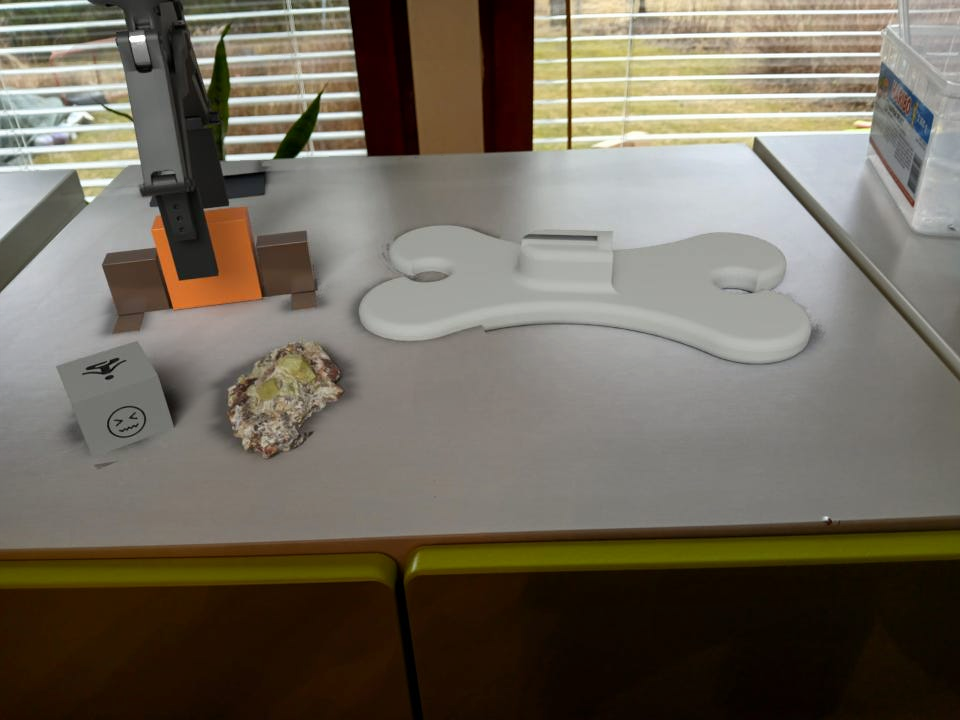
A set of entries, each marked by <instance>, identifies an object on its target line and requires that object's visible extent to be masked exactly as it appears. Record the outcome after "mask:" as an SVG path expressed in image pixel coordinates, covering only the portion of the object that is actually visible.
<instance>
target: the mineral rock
mask: <svg viewBox="0 0 960 720" xmlns="http://www.w3.org/2000/svg"><path fill="white" fill-rule="evenodd" d="M340 378H341V372H340V369H339V368H338V366H337V365H336V363H335V361H334V359H331V358H330V356H329V355H328V354H327V353H326V352H325V350H323V348H322V347H321V346H320V345H319V343H317V341H314V340H304V339H301V340H300V341H299V342H296V341H289V342H287V344H286V345H284V346H279V347H276V348H271V350H270V353H268V354H266V355H264V356H263V357H260V358H259V359H258V360H257V361H256V362H255V363H254V364H253V369H252V371H251V373H250V374H248V375H247V374H246V375H245V374H241V375H240V376H239V377H237V379H236V383H235V384H234V385H230V386H229V387H228V388H226V390H227V391H228V394H227V400H228V401H227V407H229V409H228V411H227V413H226V414H227V418H228V419H229V420H230V422H231V426H230V427H231V428H232V431H234V432H233V433H232V435H233V437H237V438H241V440H242V442H241V444H242V447H244V451H245V452H249V453H250V454H251V453H255V452H259V453H260V454H261V457H262V458H263V459H264V460H268V459H270V458H272V457H273V456H274V455H275V454H277V453H278V452H289V451H292V450H293V449H295V448H296V447H299V446H301V445H302V444H304V443H303V442H304V441H305V439H307V438H309V437H311V435H312V434H314V430H312V431H306V432H299V431H300V428H301V426H303V423H304V422H305V420H307V419H308V418H309V417H312V415H313V413H317V412H321V411H322V410H323V409H325V407H326V406H327V403H331V402H338V401H340V400H341V399H342V394H343V393H344V390H343V388H341V387H339V386H338V385H337V384H336V382H337V381H338V380H340Z"/></svg>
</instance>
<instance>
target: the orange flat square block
mask: <svg viewBox="0 0 960 720" xmlns="http://www.w3.org/2000/svg"><path fill="white" fill-rule="evenodd" d="M204 213H205V217H206V221H207V225H208V229H209V233H210V237H211V241H212V246H213V250H214V254H215V258H216V262H217V266H218V270H219V274H218V276H213V277H205V278H197V279H189V280H181V281H179V279H178V275H177V272H176V268H175V265H174V261H173V257H172V254H171V250H170V247H169V243H168V240H167V236H166V232H165V229H164V225H163V222H162V218H161V215H156V216H155V217H154V221H153V223H152V227H151V230H150V232H151V235H152V238H153V242H154V245H155V248H156V249H157V253H158V256H159V260H160V263H161V267H162V270H163V274H164V277H165V281H166V284H167V288H168V292H169V295H170V299H171V302H172V306H173V309H172V310H174V311H177V310H185V309H193V308H200V307H209V306H217V305H224V304H233V303H240V302H248V301H257V300H262V299H263V298H262V295H263V286H264V283H263V278H262V273H261V268H260V264H259V259H258V254H257V249H256V241H255V238H254V234H253V227H252V223H251V219H250V214H249V209H248V206H247V205H244V206H236V207H225V208H216V209H207V210H204Z"/></svg>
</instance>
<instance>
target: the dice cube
mask: <svg viewBox="0 0 960 720" xmlns="http://www.w3.org/2000/svg"><path fill="white" fill-rule="evenodd" d="M55 367H56V370H57V372H58V375H59V378H60V380H61V382H62V386H63V387H64V390H65V393H66V395H67V398H68V400H69V403H70V406H71V407H72V408H71V409H72V410H73V413H74V415H75V419H76V420H77V424H78V426H79V428H80V431H81V433H82V435H83V438H84V440H85V443H86V446H87V448H88V451H89V453H90V456H91V458H95V457H98V456H100V455H103V454H106V453H109V452H112V451H114V450H117V449H119V448H123V447H125V446H128V445H131V444H133V443H136V442H139V441H142V440H145V439H147V438H150V437H152V436H155V435H158V434H161V433H163V432H166V431H169V430H171V429H174V428H175V426H174V422H173V419H172V415H171V413H170V410H169V407H168V403H167V400H166V397H165V394H164V391H163V387H162V384H161V382H160V378H159V375H158V373H157V372H156V369H155V368H154V366H153V365H152V363H151V362H150V359H149V358H148V356H147V354H146V353H145V351H144V349H143V348H142V346H141V345H140V343H139V341H138V340H135V341H132V342H129V343H125V344H123V345H119V346H116V347H112V348H109V349H106V350H103V351H100V352H97V353H93V354H90V355H87V356H84V357H81V358H80V357H79V358H77V359H74V360H71V361H70V360H69V361H67V362H64V363H61V364H58V365H56V366H55ZM117 462H119V460H117V461H110V462H103V463H97V464H94V465H95V469H96V470H98V469H101V468H104V467H106V466H110V465H112V464H115V463H117Z"/></svg>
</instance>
